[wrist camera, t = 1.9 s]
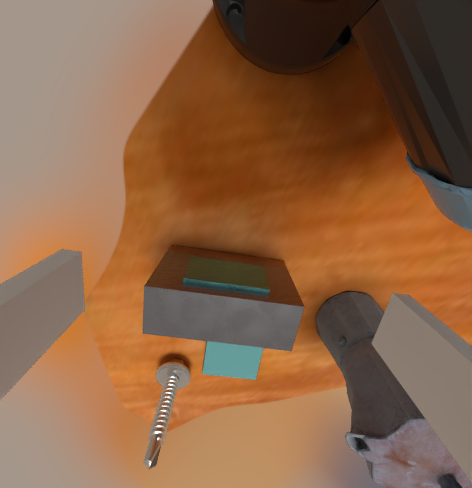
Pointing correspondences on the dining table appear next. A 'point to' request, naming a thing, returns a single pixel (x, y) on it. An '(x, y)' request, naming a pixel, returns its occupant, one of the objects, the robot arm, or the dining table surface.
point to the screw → (165, 405)
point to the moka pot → (382, 403)
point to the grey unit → (222, 299)
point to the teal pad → (232, 360)
